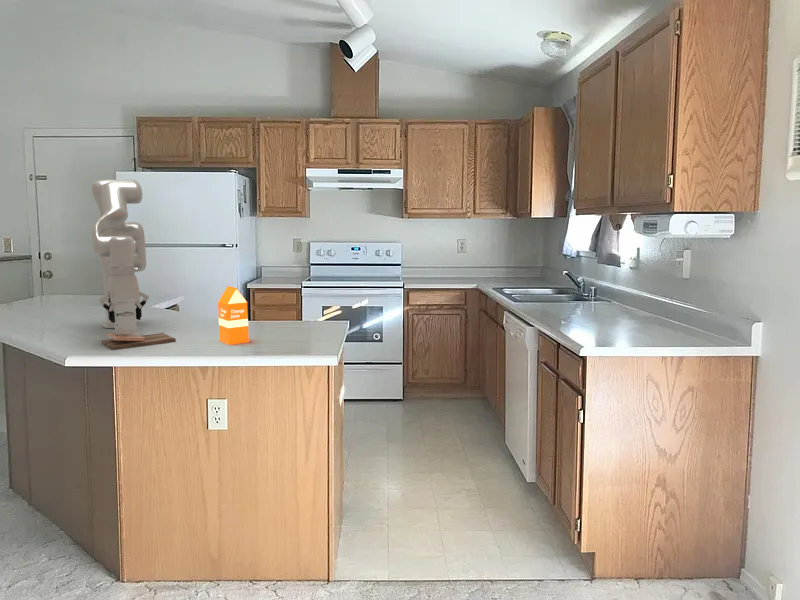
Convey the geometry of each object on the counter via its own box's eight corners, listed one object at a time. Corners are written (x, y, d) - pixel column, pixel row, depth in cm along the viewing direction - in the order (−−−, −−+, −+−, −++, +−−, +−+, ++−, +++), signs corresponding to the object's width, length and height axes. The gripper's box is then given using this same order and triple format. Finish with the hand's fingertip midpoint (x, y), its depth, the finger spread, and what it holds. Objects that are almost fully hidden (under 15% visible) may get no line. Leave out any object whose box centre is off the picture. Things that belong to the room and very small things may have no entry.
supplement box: (115, 335, 237) (112, 300, 235) (115, 331, 243) (112, 297, 241) (137, 333, 240) (135, 298, 237) (137, 329, 246) (134, 295, 244)
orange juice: (228, 344, 239) (226, 288, 236) (219, 340, 246) (216, 286, 243) (249, 342, 243) (247, 287, 240) (239, 338, 250) (237, 284, 247)
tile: (136, 333, 248) (136, 337, 248) (108, 332, 241) (107, 336, 242) (144, 337, 240) (144, 341, 240) (115, 336, 234) (115, 340, 234)
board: (101, 343, 242) (101, 340, 242) (163, 336, 256) (162, 333, 255) (111, 349, 231) (111, 346, 231) (175, 341, 244) (175, 338, 244)
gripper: (144, 269, 246) (147, 317, 248) (93, 273, 235) (97, 322, 237) (150, 271, 240) (153, 319, 242) (98, 274, 229) (102, 324, 231)
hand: (125, 320), depth 240 cm, fingers closed on supplement box, 8 cm apart
